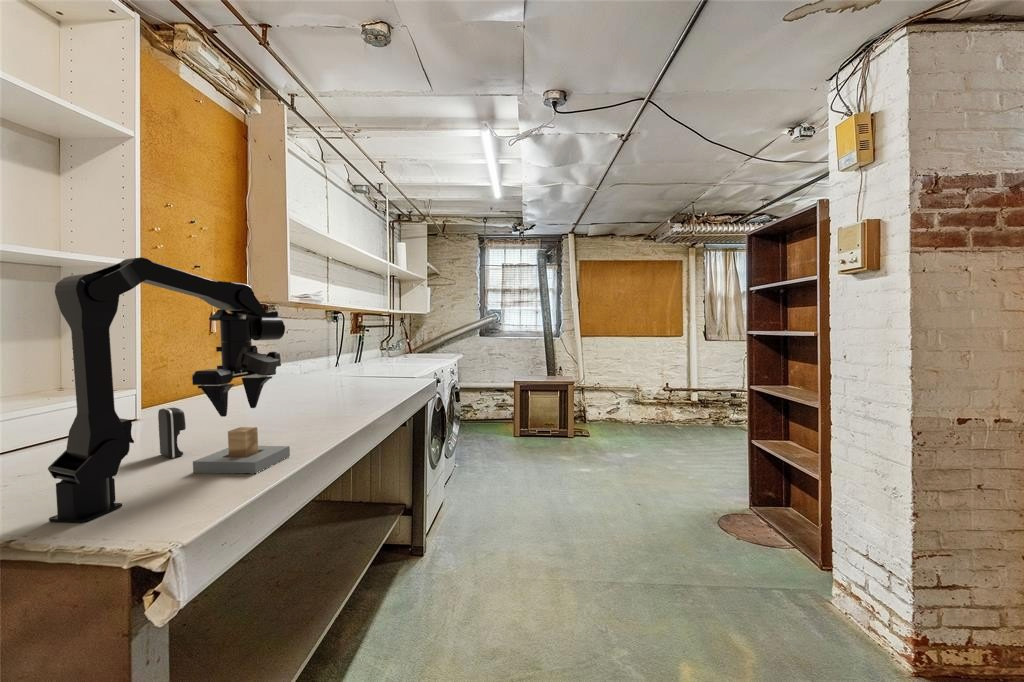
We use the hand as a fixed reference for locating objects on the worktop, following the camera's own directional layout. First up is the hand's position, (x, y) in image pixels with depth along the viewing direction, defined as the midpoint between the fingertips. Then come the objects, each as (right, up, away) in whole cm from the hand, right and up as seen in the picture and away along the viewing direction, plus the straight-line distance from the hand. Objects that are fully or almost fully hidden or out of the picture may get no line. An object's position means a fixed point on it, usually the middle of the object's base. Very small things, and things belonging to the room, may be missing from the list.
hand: (239, 412), depth 97 cm
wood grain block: (+1, -12, +1) cm, 12 cm away
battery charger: (-21, -12, +9) cm, 26 cm away
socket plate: (+1, -12, +1) cm, 12 cm away
